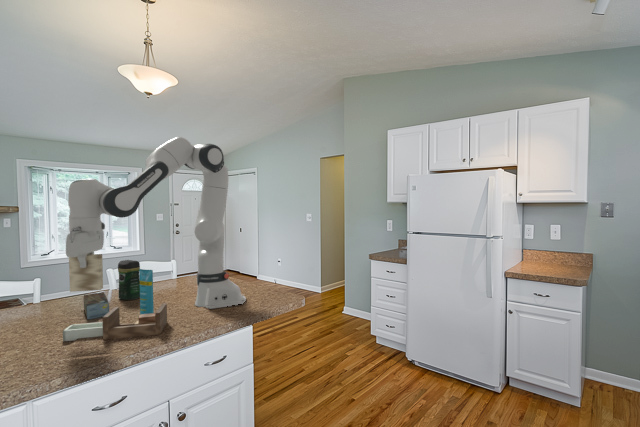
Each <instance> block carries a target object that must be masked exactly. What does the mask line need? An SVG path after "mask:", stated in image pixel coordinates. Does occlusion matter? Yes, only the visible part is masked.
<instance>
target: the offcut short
mask: <svg viewBox="0 0 640 427" xmlns="http://www.w3.org/2000/svg"><path fill="white" fill-rule="evenodd" d="M155 313H156V312H154V313H150V314H141V315H140V314H139V316H138V320H139V324H142V323H151V322H156V320H155Z"/></svg>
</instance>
